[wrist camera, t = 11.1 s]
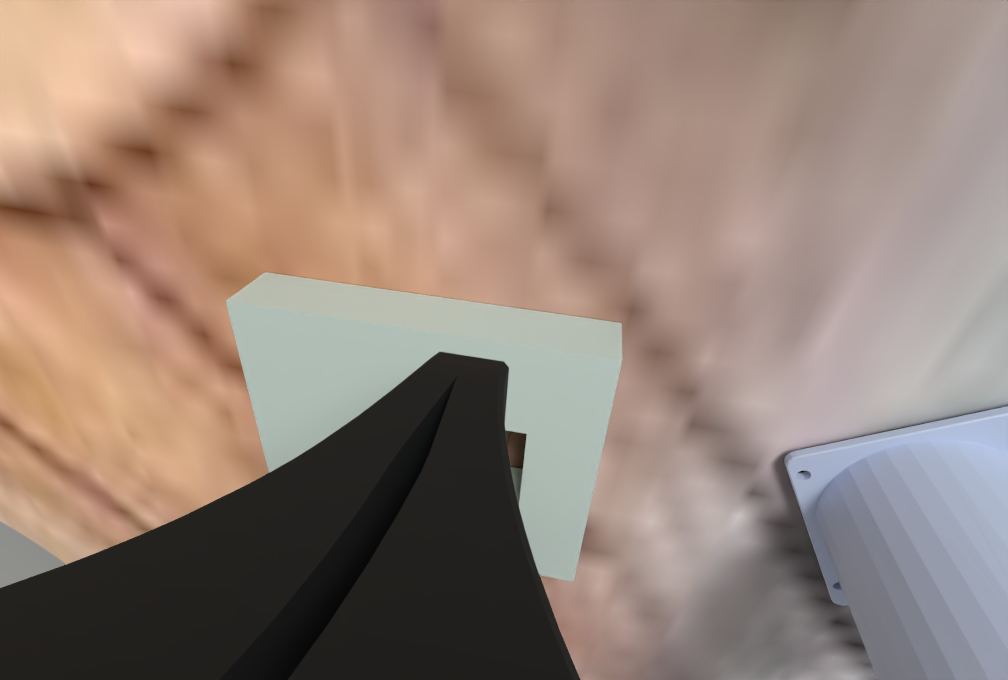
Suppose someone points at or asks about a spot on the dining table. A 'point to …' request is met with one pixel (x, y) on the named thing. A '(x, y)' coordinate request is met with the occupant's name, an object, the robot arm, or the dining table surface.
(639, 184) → the dining table surface
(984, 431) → the robot arm
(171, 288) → the dining table surface
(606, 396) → the hole board
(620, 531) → the dining table surface
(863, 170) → the dining table surface
